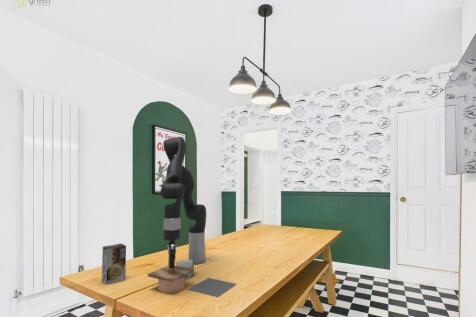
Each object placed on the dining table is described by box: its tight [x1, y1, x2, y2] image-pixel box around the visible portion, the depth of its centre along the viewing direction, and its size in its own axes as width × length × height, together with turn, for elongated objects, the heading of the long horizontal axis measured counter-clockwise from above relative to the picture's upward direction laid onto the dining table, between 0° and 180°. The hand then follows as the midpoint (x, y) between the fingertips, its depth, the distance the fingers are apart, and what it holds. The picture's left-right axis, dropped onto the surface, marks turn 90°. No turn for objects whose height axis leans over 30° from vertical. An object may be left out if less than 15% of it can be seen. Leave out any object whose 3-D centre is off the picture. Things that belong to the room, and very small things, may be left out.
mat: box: [186, 277, 238, 298], centre depth 119 cm, size 16×16×1 cm
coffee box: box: [101, 243, 127, 285], centre depth 129 cm, size 9×6×16 cm
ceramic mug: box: [176, 259, 195, 281], centre depth 132 cm, size 11×8×8 cm
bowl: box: [157, 277, 185, 294], centre depth 119 cm, size 11×11×6 cm
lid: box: [147, 257, 195, 282], centre depth 119 cm, size 14×14×7 cm
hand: (171, 265), depth 119 cm, fingers open, 8 cm apart
